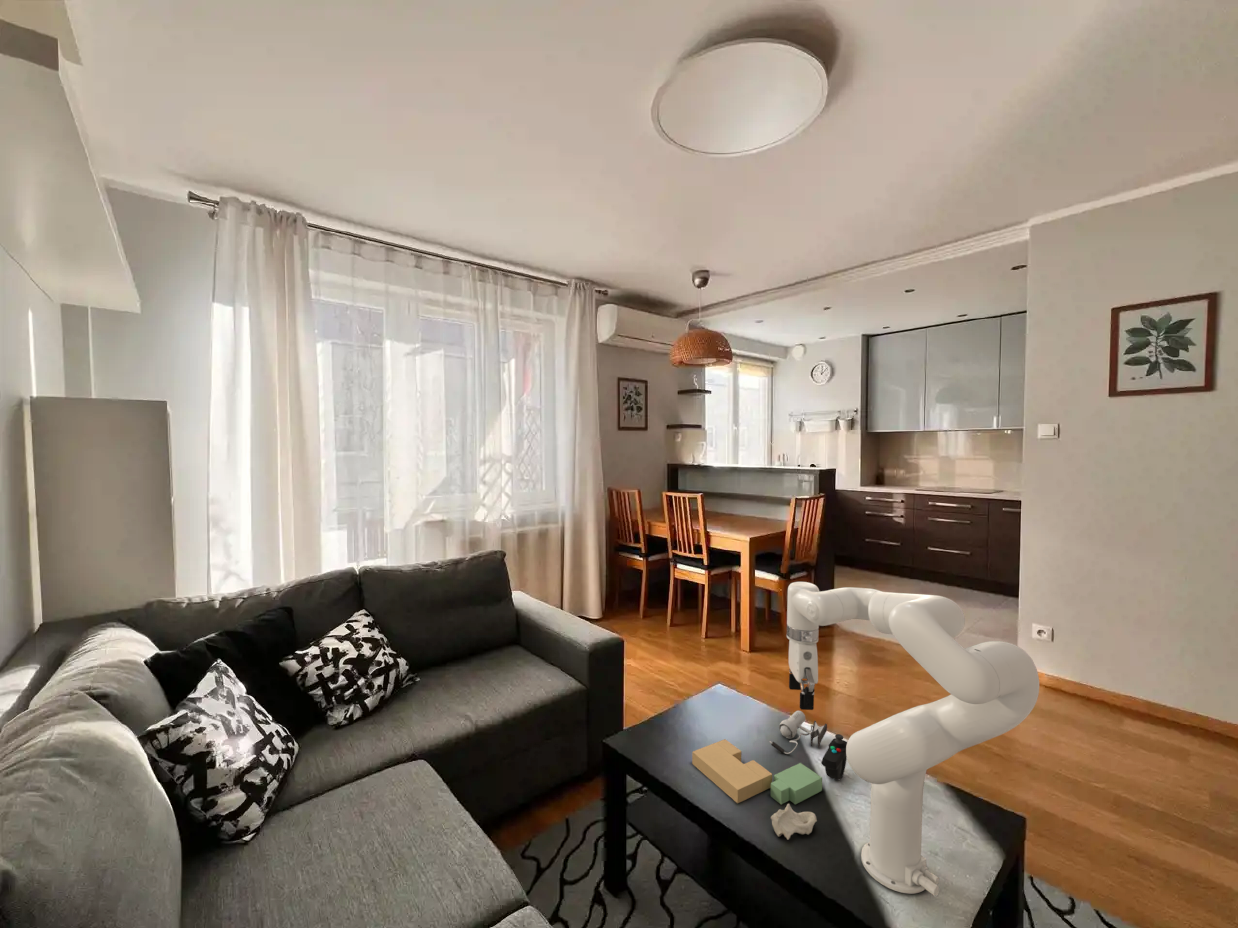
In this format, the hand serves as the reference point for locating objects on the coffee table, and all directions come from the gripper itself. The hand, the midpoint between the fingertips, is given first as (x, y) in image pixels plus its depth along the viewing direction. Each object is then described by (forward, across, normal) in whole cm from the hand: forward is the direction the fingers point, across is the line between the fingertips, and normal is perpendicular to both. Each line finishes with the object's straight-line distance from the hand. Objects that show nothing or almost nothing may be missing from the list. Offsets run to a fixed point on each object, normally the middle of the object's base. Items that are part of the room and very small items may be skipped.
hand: (800, 698), depth 130 cm
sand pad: (+25, +6, +16) cm, 30 cm away
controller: (+25, +6, -11) cm, 28 cm away
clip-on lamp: (+25, +22, -6) cm, 34 cm away
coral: (+25, -13, +5) cm, 28 cm away
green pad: (+25, 0, +1) cm, 25 cm away
